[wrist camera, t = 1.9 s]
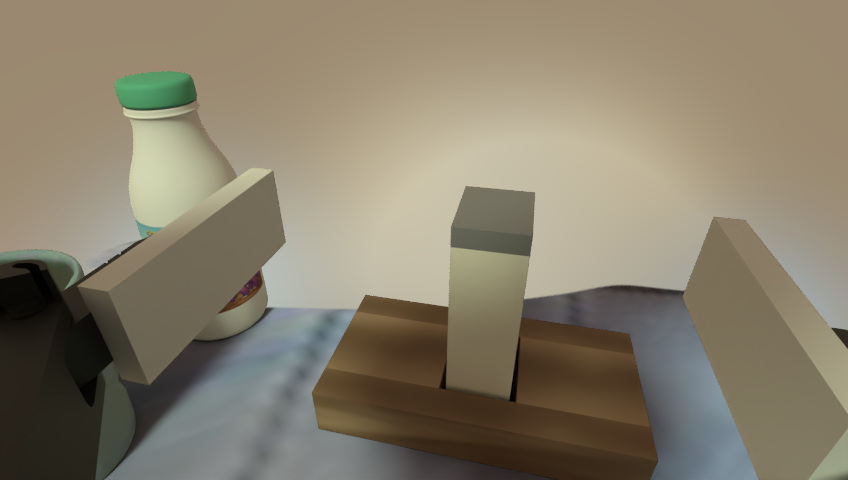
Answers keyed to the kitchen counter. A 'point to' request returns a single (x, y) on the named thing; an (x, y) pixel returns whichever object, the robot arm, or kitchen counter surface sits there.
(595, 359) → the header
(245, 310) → the milk bottle
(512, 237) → the plug
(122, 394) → the green cup
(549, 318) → the kitchen counter surface
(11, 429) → the robot arm
